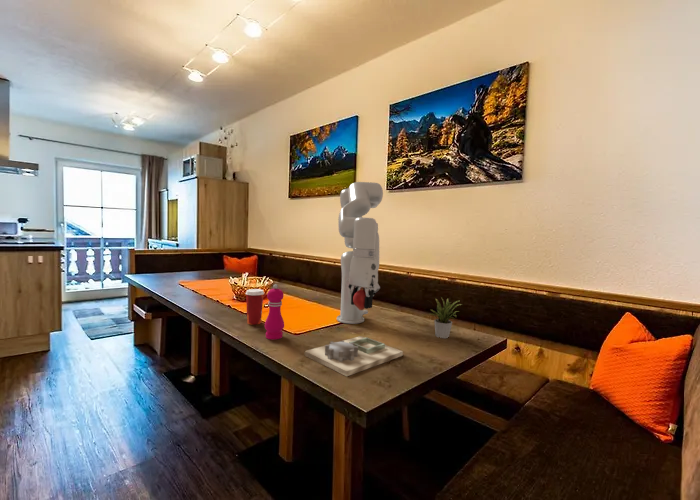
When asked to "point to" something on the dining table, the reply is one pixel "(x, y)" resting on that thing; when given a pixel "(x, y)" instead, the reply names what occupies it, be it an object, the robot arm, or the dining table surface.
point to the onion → (359, 299)
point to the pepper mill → (274, 314)
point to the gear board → (353, 354)
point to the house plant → (443, 318)
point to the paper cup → (254, 306)
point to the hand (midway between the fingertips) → (361, 305)
